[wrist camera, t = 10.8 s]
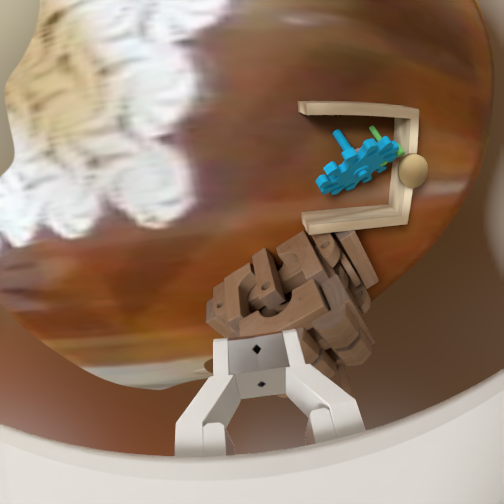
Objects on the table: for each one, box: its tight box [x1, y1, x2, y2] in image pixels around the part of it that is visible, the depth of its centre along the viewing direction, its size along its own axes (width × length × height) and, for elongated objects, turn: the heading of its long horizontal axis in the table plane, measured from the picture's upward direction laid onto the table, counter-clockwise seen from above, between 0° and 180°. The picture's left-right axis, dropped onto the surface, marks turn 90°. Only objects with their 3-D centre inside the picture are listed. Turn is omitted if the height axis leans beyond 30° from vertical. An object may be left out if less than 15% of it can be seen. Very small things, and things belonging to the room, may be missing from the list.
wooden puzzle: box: [206, 229, 379, 399], centre depth 33 cm, size 22×15×19 cm, turn 125°
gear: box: [316, 126, 405, 195], centre depth 28 cm, size 11×6×10 cm
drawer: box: [298, 101, 428, 235], centre depth 30 cm, size 14×15×4 cm
